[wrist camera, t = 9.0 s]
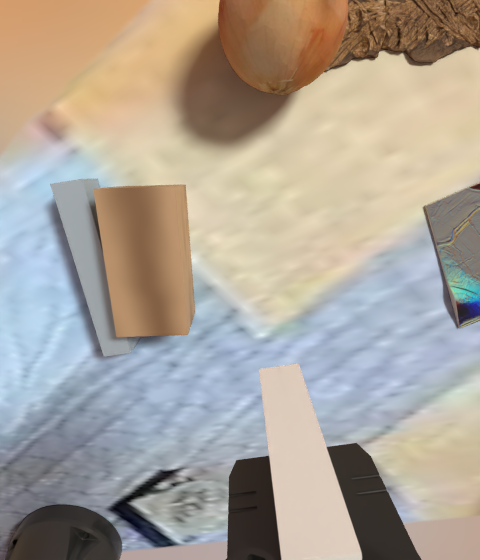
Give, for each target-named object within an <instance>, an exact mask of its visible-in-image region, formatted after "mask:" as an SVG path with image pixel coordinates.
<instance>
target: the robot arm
mask: <svg viewBox="0 0 480 560" xmlns="http://www.w3.org/2000/svg"><path fill="white" fill-rule="evenodd" d="M259 374H260V382H261V390H262V399H263V407H264V416H265V424H266V433H267V441H268V450H269V456H265V457H258V458H250V459H243V460H236V463H235V465H234V467H233V469H232V471H231V474H230V476H229V507H228V510H229V514H228V551H227V559H226V560H421V558H420V556H419V555H418V553H417V552H416V550H415V547H414V545H413V543H412V541H411V539H410V537H409V535H408V533H407V531H406V529H405V527H404V525H403V522H402V520H401V518H400V516H399V514H398V512H397V510H396V508H395V506H394V504H393V502H392V500H391V498H390V495H389V493H388V492H387V490H386V487H385V485H384V483H383V481H382V479H381V477H380V476H379V473H378V471H377V468H376V466H375V464H374V462H373V460H372V458H371V456H370V455H369V454H368V453H367V452H365V451H364V450H363V449H362V448H361V447H360V446H359V445H358V444H357V443H353V444H346V445H339V446H331V447H326V444H325V441H324V438H323V435H322V432H321V429H320V426H319V423H318V420H317V417H316V414H315V411H314V408H313V405H312V402H311V399H310V396H309V393H308V390H307V387H306V384H305V381H304V378H303V375H302V372H301V369H300V366H299V364H291V365H285V366H278V367H271V368H264V369H259ZM121 553H122V542H121V538H120V536H119V534H118V532H117V530H116V529H115V528H114V526H113V525H112V524H111V523H110V522H109V521H107V520H106V519H105V518H103V517H102V516H100V515H99V514H97V513H95V512H93V511H90V510H88V509H84V508H81V507H76V506H70V505H55V506H49V507H44V508H41V509H39V510H36V511H34V512H33V513H31V514H30V515H28V516H27V517H26V518H25V519H24V520H23V522H22V523H21V525H20V526H19V528H18V529H17V531H16V533H15V534H14V536H13V538H12V540H11V542H10V544H9V547H8V551H7V554H6V557H5V560H119V559H120V556H121Z"/></svg>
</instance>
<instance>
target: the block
mask: <svg viewBox="0 0 480 560" xmlns="http://www.w3.org/2000/svg"><path fill="white" fill-rule="evenodd" d="M93 191H94V197H95V204H96V210H97V216H98V223H99V229H100V236H101V242H102V248H103V255H104V261H105V267H106V274H107V280H108V286H109V293H110V299H111V306H112V312H113V318H114V325H115V331H116V337H135V336H169V335H188V333H189V330H190V327H191V324H192V320H193V317H194V314H195V302H194V289H193V276H192V263H191V250H190V237H189V223H188V210H187V197H186V185H155V186H123V187H108V188H97V189H93Z"/></svg>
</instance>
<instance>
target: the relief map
mask: <svg viewBox="0 0 480 560" xmlns="http://www.w3.org/2000/svg"><path fill="white" fill-rule="evenodd" d="M425 209H426V212H427V216H428V219H429V223H430V227H431V230H432V234H433V237H434V241H435V245H436V248H437V252H438V255H439V259H440V263H441V266H442V270H443V273H444V277H445V281H446V284H447V288H448V291H449V295H450V299H451V302H452V306H453V309H454V313H455V317H456V320H457V324H458V327H459V328H462V327H465V326H468V325H470V324H473V323H475V322H478V321H480V182H479V183H476V184H474V185H472V186H469V187H467V188H465V189H462V190H460V191H458V192H455V193H453V194H451V195H448V196H446V197H444V198H441V199H439V200H437V201H434V202H432V203H430V204H427V205H425Z"/></svg>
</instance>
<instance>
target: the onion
mask: <svg viewBox="0 0 480 560" xmlns="http://www.w3.org/2000/svg"><path fill="white" fill-rule="evenodd" d="M347 18H348V0H220V3H219V13H218V24H219V35H220V40H221V43H222V47H223V50H224V52H225V55H226V57H227V59H228V61H229V63H230V65H231V67H232V68H233V70H234V71H235V72H236V73H237V75H238V76H239V77H240V78H241V79H242V80H243V81H244V82H246V83H247V84H249V85H250V86H252V87H254V88H256V89H258V90H261V91H263V92H267V93H274V94H277V95H285V94H289V93H291V92H294V91H297V90H299V89H300V88H302V87H304V86H306V85H308V84H310V83H311V82H313V81H314V80H315V79H316V78H318V77H319V76H320V75H321V74H322V73H323V72H324V71H325V70H326V69H327V67H328V66H329V64H330V63H331V62H332V60H333V59H334V57H335V56H336V54H337V52H338V50H339V48H340V45H341V43H342V40H343V37H344V33H345V29H346V25H347Z"/></svg>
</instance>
